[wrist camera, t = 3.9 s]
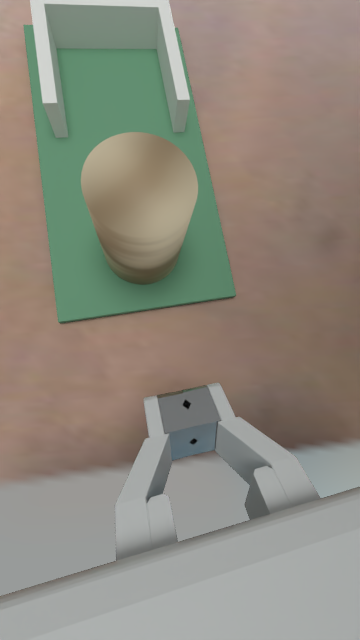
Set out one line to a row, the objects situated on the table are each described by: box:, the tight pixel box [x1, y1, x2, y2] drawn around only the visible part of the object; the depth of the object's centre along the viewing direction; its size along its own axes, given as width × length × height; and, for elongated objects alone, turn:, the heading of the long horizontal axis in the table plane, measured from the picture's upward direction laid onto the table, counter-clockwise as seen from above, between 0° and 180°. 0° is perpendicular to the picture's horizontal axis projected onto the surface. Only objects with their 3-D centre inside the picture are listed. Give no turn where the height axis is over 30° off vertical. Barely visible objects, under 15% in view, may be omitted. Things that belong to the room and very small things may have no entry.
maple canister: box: [81, 132, 198, 285], centre depth 18 cm, size 6×6×8 cm
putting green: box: [24, 0, 236, 323], centre depth 22 cm, size 27×14×4 cm, turn 11°
